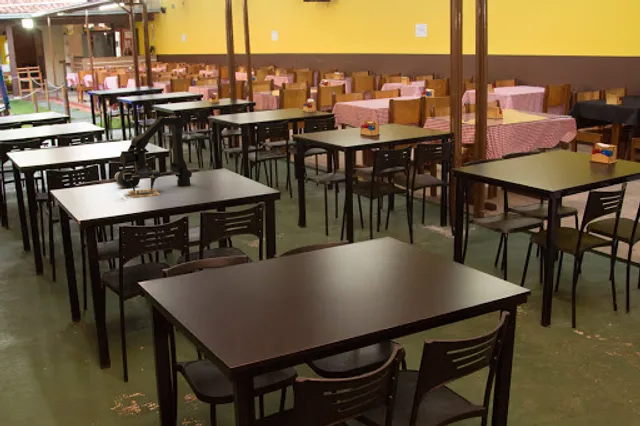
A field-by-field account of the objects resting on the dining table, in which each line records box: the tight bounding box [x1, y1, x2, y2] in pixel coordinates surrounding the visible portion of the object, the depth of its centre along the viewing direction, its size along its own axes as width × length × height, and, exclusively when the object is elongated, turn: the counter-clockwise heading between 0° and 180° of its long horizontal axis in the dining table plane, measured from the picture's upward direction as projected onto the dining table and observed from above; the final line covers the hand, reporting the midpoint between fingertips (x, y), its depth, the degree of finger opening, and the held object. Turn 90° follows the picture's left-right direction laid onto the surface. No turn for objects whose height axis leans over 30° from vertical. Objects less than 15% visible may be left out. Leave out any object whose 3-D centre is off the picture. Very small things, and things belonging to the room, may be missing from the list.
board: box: [127, 187, 161, 199], centre depth 367 cm, size 14×18×4 cm
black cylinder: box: [114, 169, 141, 189], centre depth 400 cm, size 10×34×10 cm, turn 26°
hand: (143, 190), depth 368 cm, fingers open, 9 cm apart
